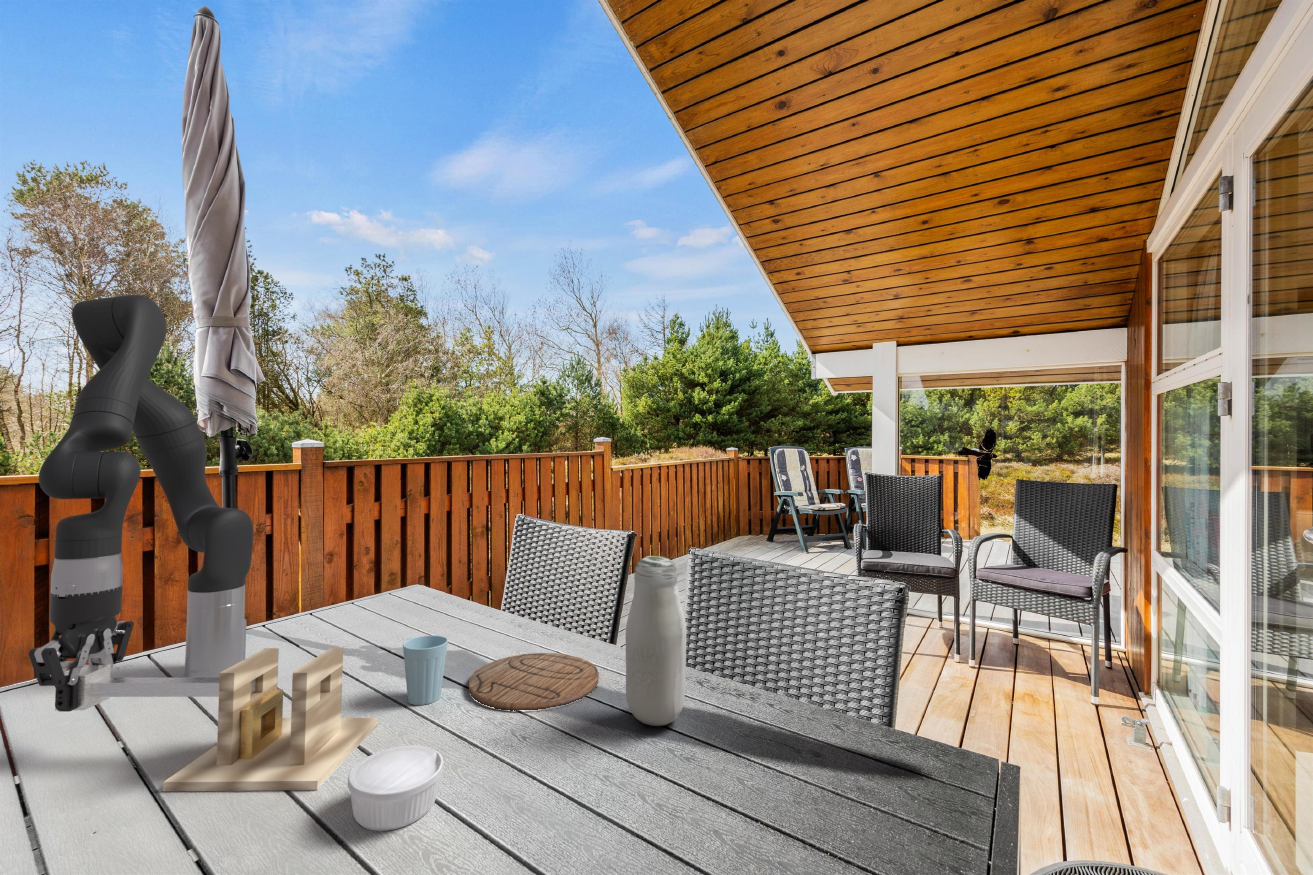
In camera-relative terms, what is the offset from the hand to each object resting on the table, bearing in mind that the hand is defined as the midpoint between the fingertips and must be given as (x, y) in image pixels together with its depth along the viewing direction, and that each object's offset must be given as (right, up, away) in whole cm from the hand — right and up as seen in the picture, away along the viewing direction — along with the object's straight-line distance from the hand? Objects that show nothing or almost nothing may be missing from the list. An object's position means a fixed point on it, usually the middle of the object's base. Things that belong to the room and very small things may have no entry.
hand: (82, 702), depth 83 cm
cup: (+42, -9, +21) cm, 48 cm away
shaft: (+11, 0, +1) cm, 11 cm away
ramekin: (+51, -9, -11) cm, 53 cm away
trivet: (+61, -10, +28) cm, 68 cm away
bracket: (+29, -8, +1) cm, 30 cm away
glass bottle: (+84, -10, +13) cm, 86 cm away
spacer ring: (+26, -3, +1) cm, 26 cm away
